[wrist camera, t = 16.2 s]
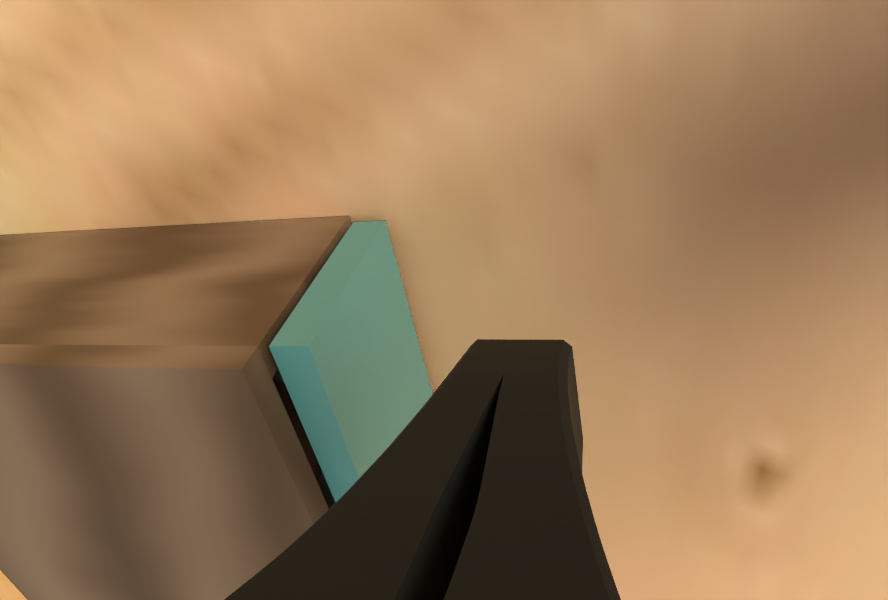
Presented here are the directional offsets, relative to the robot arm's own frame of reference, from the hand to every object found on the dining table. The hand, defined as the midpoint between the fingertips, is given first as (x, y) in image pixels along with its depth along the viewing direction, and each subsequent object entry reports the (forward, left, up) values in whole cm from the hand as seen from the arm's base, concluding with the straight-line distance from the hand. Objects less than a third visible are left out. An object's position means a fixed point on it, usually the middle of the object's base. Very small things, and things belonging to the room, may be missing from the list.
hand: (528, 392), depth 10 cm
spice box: (+14, +10, -9) cm, 20 cm away
